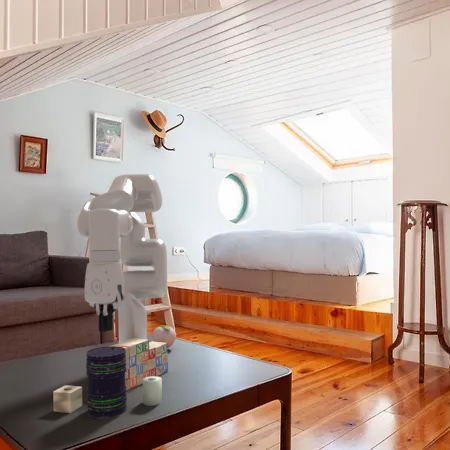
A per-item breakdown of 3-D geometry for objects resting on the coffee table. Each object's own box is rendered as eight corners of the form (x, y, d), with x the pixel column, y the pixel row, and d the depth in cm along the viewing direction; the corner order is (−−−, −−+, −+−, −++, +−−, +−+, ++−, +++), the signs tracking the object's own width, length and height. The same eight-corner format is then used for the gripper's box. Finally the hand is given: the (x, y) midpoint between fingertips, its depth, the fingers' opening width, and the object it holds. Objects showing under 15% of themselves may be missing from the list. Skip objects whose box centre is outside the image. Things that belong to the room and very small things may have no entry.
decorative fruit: (181, 349, 177) (180, 322, 177) (164, 353, 171) (163, 326, 171) (165, 345, 183) (165, 320, 183) (148, 349, 177) (148, 323, 177)
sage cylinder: (138, 403, 121) (138, 379, 121) (150, 397, 126) (150, 374, 126) (153, 407, 119) (153, 383, 119) (165, 401, 123) (165, 377, 123)
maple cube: (53, 411, 117) (53, 391, 118) (65, 404, 122) (65, 384, 122) (70, 413, 116) (70, 392, 116) (82, 406, 121) (82, 386, 121)
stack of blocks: (152, 369, 152) (152, 331, 152) (168, 372, 149) (167, 333, 149) (105, 389, 133) (105, 346, 134) (122, 392, 130) (121, 348, 130)
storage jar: (112, 420, 111) (111, 357, 111) (78, 415, 114) (77, 354, 114) (134, 405, 120) (133, 347, 120) (102, 401, 123) (101, 345, 124)
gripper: (73, 258, 118) (74, 330, 118) (114, 258, 110) (115, 336, 110) (95, 256, 125) (96, 325, 124) (136, 257, 117) (138, 330, 116)
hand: (105, 330), depth 117 cm, fingers closed
